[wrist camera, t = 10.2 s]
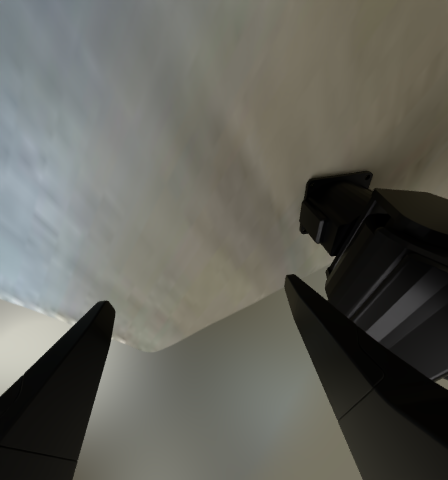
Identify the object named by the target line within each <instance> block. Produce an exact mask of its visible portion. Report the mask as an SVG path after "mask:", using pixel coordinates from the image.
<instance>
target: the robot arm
mask: <svg viewBox="0 0 448 480" xmlns="http://www.w3.org/2000/svg"><path fill="white" fill-rule="evenodd" d="M366 176H367V177H366ZM372 176H373V174H372V173H371V172H369V171H363V172H356V173H349V174H342V175H335V176H328V177H321V178H314V179H310V180H309V181H308V182H307V184H306V190H305V196H304V200H303V202H302V206H301V212H300V219H299V222H300V229H299V230H300V232H301V233H302V234H309V235H310V236H311V237H312V239H313V240H314V241H315V242H316V243H317V244H319V243H321V245H322V246H323V247H324V248H325V250H326V251H327V252H328V253H329V255H330V256H336V257H335V259H334V260H333V262H332V264H331V266H330V267H328V268H327V270H326V276H327V280H326V284H325V291H326V294H327V297H328V300H325V299H324V298H323V297H322V296H321V295H319V294H318V293H317V292H316V291H314V290H313V289H312V288H311V287H310V286H308V285H307V284H306V283H305V282H303V281H302V280H301V279H300V278H299V277H297V276H296V275H295V274H290V275H286V278H285V285H284V287H285V291H286V295H287V298H288V301H289V305H290V308H291V311H292V315H293V317H294V320H295V323H296V325H297V327H298V330H299V332H300V334H301V337H302V339H303V341H304V344H305V346H306V348H307V350H308V353H309V355H310V358H311V360H312V362H313V365H314V367H315V369H316V372H317V374H318V376H319V379H320V381H321V383H322V386H323V387H324V390H325V392H326V394H327V397H328V399H329V402H330V404H331V406H332V408H333V411H334V413H335V416H336V418H337V420H338V423H339V425H340V427H341V430H342V432H343V435H344V437H345V439H346V441H347V444H348V446H349V449H350V451H351V453H352V455H353V458H354V460H355V463H356V465H357V467H358V469H359V472H360V474H361V476H362V479H363V480H448V390H447V389H445V388H444V387H442V386H440V385H439V384H437V383H435V382H436V381H438V380H440V379H442V378H444V379H446V380H448V199H445V198H442V197H439V196H437V195H434V194H431V193H427V192H417V191H405V190H392V189H380V188H375V189H374V191H371V190H370V189H368V188H369V185H370V182H371V179H372ZM365 177H366V178H365ZM312 183H314V184H313V185H312V186H310V185H311V184H312ZM304 229H305V230H304ZM114 320H115V309H114V308H113V306H112V305H111V304H110V302H109V301H100V302H98V303H96V304H95V305H94V306H93V307H92V308H91V309H90V310H89V311H88V312H87V313H86V314H85V315H84V316H83V317H82V318H81V319H80V320H79V321H78V322H77V323H76V324H75V325H74V326H73V327H72V328H71V329H70V330H69V331H68V332H67V333H66V334H64V335H63V336H62V337H61V338H60V339H59V340H58V341H57V342H56V343H55V344H54V345H53V346H52V347H51V348H50V349H49V350H48V351H47V352H46V353H45V354H44V355H43V356H42V357H41V358H40V359H39V360H38V361H37V362H36V363H35V364H34V365H33V366H31V367H30V369H28V370H27V371H26V372H25V374H24V375H23V376H21V377H20V378H19V379H18V380H17V381H16V382H15V383H14V384H13V385H12V386H11V387H10V388H9V389H8V390H7V391H6V392H4V393H3V394H2V395H1V396H0V480H72V479H73V476H74V472H75V468H76V465H77V460H78V457H79V454H80V450H81V447H82V443H83V440H84V436H85V433H86V429H87V425H88V422H89V418H90V415H91V411H92V408H93V404H94V401H95V397H96V393H97V390H98V386H99V383H100V379H101V376H102V372H103V368H104V365H105V361H106V358H107V354H108V350H109V347H110V342H111V337H112V331H113V326H114Z"/></svg>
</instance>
